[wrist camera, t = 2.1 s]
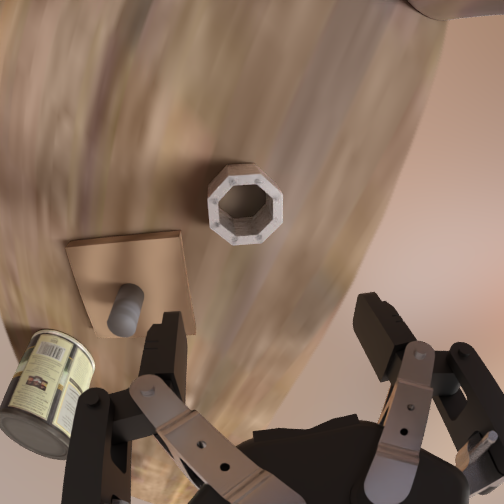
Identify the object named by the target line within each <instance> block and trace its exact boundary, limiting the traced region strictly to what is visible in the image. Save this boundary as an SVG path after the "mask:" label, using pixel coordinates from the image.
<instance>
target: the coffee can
mask: <svg viewBox="0 0 504 504" xmlns="http://www.w3.org/2000/svg"><path fill="white" fill-rule="evenodd" d="M94 370H95V364H94V360H93V358H92V356H91V354H90V353H89V352H88V351H87V349H86V348H85V347H84V346H83V345H82V344H81V343H79V342H78V341H77V340H76V339H74V338H72V337H71V336H69V335H67V334H64V333H62V332H59V331H56V330H41V331H38V332H36V333H35V334H34V335H33V336H32V338H31V341H30V343H29V345H28V347H27V349H26V351H25V353H24V355H23V357H22V359H21V361H20V363H19V365H18V368H17V370H16V372H15V374H14V376H13V378H12V381H11V383H10V385H9V387H8V389H7V392H6V394H5V396H4V399H3V401H2V404H1V406H0V428H1V430H2V431H3V432H4V433H5V434H6V435H7V436H8V437H9V438H11V439H12V440H13V441H15V442H16V443H18V444H19V445H21V446H22V447H24V448H26V449H28V450H30V451H32V452H34V453H36V454H39V455H41V456H44V457H48V458H52V459H58V460H67V454H68V448H69V442H70V436H71V430H72V425H73V420H74V415H75V410H76V406H77V401H78V398H79V396H80V395H81V394H82V393H83V392H84V391H86V390H87V389H89V385H90V382H91V378H92V375H93V373H94Z"/></svg>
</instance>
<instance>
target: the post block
mask: <svg viewBox="0 0 504 504" xmlns="http://www.w3.org/2000/svg"><path fill="white" fill-rule="evenodd" d="M65 249H66V252H67V256H68V259H69V262H70V265H71V268H72V272H73V275H74V278H75V281H76V283H77V286H78V289H79V292H80V295H81V298H82V300H83V303H84V306H85V308H86V311H87V313H88V316H89V319H90V321H91V324H92V326H93V329H94V331H95V333H96V336H97V338H134V337H146V335H147V331H148V330H149V329H150V327H151V326H152V325H153V324H162V318H163V313H164V312H170V311H181V314H182V318H183V323H184V328H185V333H186V335H196V324H195V318H194V312H193V307H192V301H191V295H190V289H189V283H188V276H187V270H186V263H185V257H184V250H183V243H182V236H181V230H179V231H168V232H156V233H146V234H135V235H125V236H114V237H105V238H95V239H85V240H76V241H70V242H69V244H68V245H67V246H66V247H65Z"/></svg>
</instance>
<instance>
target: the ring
mask: <svg viewBox="0 0 504 504" xmlns="http://www.w3.org/2000/svg"><path fill="white" fill-rule="evenodd" d="M250 184H257V185H258V186H259V187H261V188H262V189H263V190H264V191H265V192H266V204H265V205H264V206H263V207H262V208H261V209H260V210H259V211H258V212H257V213H256V214H255V215H254V216H253V217H245V218H232V217H231V216H230V215H229V214H227V213H226V212H225V211H224V210H222V209H221V208H220V207H219V204H218V202H219V201H220V199H221V198H222V197H223V196H224V195H225V194H226V193H227V192H228V191H229V190H230V189H231V188H232V186H234V185H250ZM207 200H208V211H209V223H210V228H211V229H212V230H213V231H215V232H216V233H217V234H219V235H220V236H221V237H222V238H224V239H225V240H226V241H228V242H229V243H230V244H232V245H244V244H257V243H263V242H264V241H265V240H266V239H267V238H268V237H269V236H270V235H271V234H272V233H273V232H274V231H275V230H276V229H277V228H278V227H279V226H280V225H281V224H282V223H283V193H282V192H281V190H280V189H279V187H278V186H277V184H276V183H275V181H274V180H273V179H272V178H271V177H269V176H268V175H267V174H266V173H265V172H264V171H263V170H262V169H261V168H259V167H258V166H257V165H256V164H255V163H248V164H231V165H226V166H225V167H224V168H223V169H222V170H221V172H220V173H219V174H218V175H217V176H216V177H215V178H214V179H213V180H212V181H211V183H210V184H209V185H208V197H207Z"/></svg>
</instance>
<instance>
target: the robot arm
mask: <svg viewBox="0 0 504 504" xmlns="http://www.w3.org/2000/svg"><path fill="white" fill-rule="evenodd" d="M408 2H409V3H410V4H411V5H412V6H413V7H414V8H415V9H417V10H418V11H419V12H421V13H422V14H424V15H426V16H428V17H429V18H432V19H435V20H442V21H444V20H451V19H459V18H467V17H477V16H488V15H503V14H504V0H408ZM353 328H354V332H355V333H356V335H357V337H358V339H359V341H360V343H361V345H362V347H363V349H364V351H365V353H366V355H367V357H368V359H369V360H370V363H371V365H372V367H373V368H374V371H375V372H376V374H377V376H378V379H379V381H380V382H384V381H388V380H389V381H390V383H391V385H390V388H389V390H388V394H387V396H386V399H385V402H384V405H383V408H382V411H381V414H380V417H379V420H378V422H377V423H374V422H370V421H362V420H358V417H357V414H352V415H348V416H344V417H339V418H334V419H331V420H329V421H327V422H324V423H322V424H320V425H318V426H315V427H313V428H311V429H306V430H304V429H287V428H276V429H268V430H259V431H253V438H252V439H249V440H247V441H244V442H242V443H241V444H239V445H237V446H236V447H235V446H234V445H233V444H232V443H231V442H230V441H229V440H227V439H226V438H225V437H224V436H223V435H222V434H221V433H220V432H219V431H218V430H217V429H216V428H215V427H213V426H212V425H211V424H210V423H209V422H208V421H207V420H206V419H205V418H204V417H203V416H202V415H201V414H200V413H199V412H198V411H196V410H193V411H191V410H190V409H189V408H188V407H187V406H186V405H185V396H186V369H187V338H186V333H185V328H184V323H183V318H182V314H181V311H170V312H164V313H163V318H162V324H153V325H152V326H151V327H150V329H149V330H148V331H147V335H146V340H145V345H144V350H143V355H142V360H141V366H140V371H139V376H138V378H136V379H135V380H134V381H133V382H132V383H131V385H130V387H129V388H128V389H126V390H123V391H119V392H116V393H112V394H108V392H107V391H105V390H104V389H102V388H90V389H87V390H86V391H84V392H83V393H82V394H81V395H80V396H79V398H78V401H77V406H76V410H75V415H74V420H73V425H72V430H71V436H70V442H69V448H68V454H67V461H66V467H65V475H64V483H63V492H62V502H61V504H131V452H132V440H135V439H139V438H143V437H147V436H150V435H152V436H153V437H154V438H155V439H156V441H157V442H158V443H159V444H160V445H161V447H162V448H163V449H164V450H165V451H166V453H167V454H168V455H169V456H170V457H171V458H172V460H173V461H174V462H175V463H176V464H177V466H178V467H179V468H180V470H181V471H182V472H183V473H184V475H185V476H186V477H187V478H188V479H189V480H190V481H191V482H192V483H193V484H194V486H195V487H196V488H197V489H198V490H199V491H198V492H197V493H196V494H195V495H194V497H193V498H192V499H191V500H190V501H189V503H188V504H469V498H471V497H473V496H474V495H476V494H480V495H485V494H488V493H490V492H491V491H493V490H494V489H495V488H497V487H498V486H499V485H501V484H502V483H503V482H504V394H503V392H502V391H501V389H500V387H499V386H498V384H497V383H496V381H495V379H494V378H493V376H492V375H491V373H490V372H489V370H488V369H487V367H486V366H485V364H484V363H483V361H482V360H481V358H480V357H479V356H478V354H477V352H476V351H475V350H474V348H472V346H470V345H469V344H467V343H464V342H457V343H454V344H453V345H452V346H451V348H450V350H449V351H434V349H433V348H432V347H431V346H430V345H429V344H427V343H425V342H422V341H417V339H416V338H415V337H414V335H413V334H412V332H411V331H410V329H409V328H408V326H407V325H406V324H405V322H403V319H402V318H401V316H399V314H398V312H397V311H396V310H395V308H394V307H393V306H392V305H390V304H389V303H387V302H386V301H381V300H380V298H379V297H378V295H377V294H376V293H375V292H370V293H363V294H359V295H358V297H357V302H356V307H355V312H354V317H353ZM460 386H461V387H462V388H463V390H464V392H465V394H466V396H467V400H466V398H465V397H464V395H463V393H462V391H461V389H460ZM432 398H433V400H434V402H435V404H436V406H437V408H438V411H439V413H440V415H441V417H442V419H443V421H444V423H445V425H446V427H447V430H448V432H449V434H450V436H451V438H452V441H453V443H454V445H455V447H456V449H457V452H458V453H457V455H456V459H455V461H456V466H453V465H452V464H450V463H448V462H446V461H444V460H442V459H441V458H439V457H437V456H435V455H433V454H431V453H429V452H428V451H426V450H424V449H422V448H421V444H422V440H423V436H424V432H425V428H426V423H427V419H428V414H429V410H430V404H431V399H432Z"/></svg>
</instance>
